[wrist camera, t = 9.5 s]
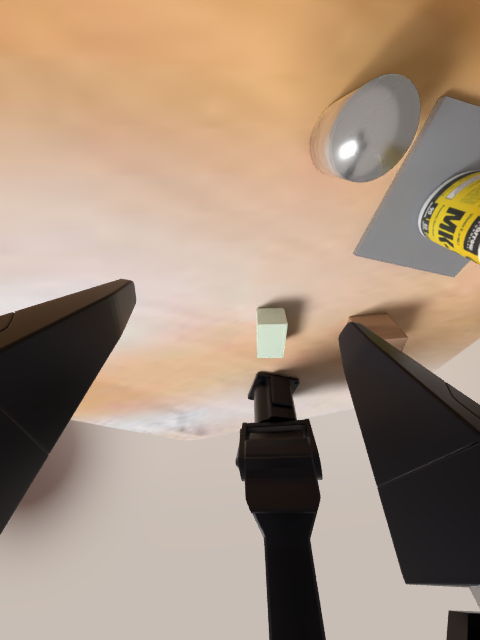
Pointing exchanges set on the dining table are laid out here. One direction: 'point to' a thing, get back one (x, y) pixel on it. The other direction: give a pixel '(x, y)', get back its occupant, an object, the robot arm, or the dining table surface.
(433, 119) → the coaster
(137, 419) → the dining table surface
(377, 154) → the metal shaker
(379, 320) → the walnut block
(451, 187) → the supplement bottle
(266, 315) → the sage box
